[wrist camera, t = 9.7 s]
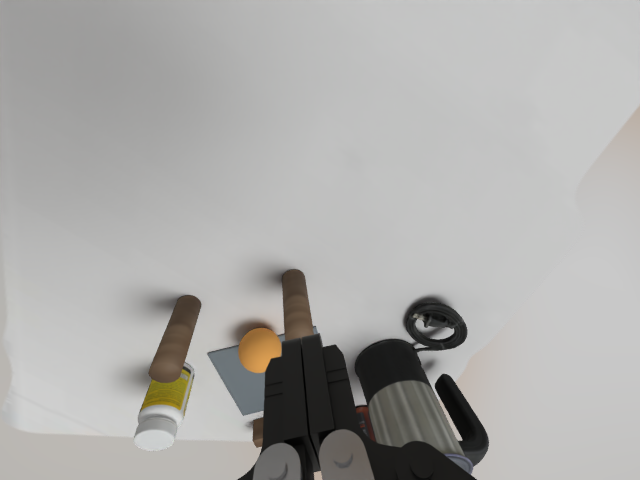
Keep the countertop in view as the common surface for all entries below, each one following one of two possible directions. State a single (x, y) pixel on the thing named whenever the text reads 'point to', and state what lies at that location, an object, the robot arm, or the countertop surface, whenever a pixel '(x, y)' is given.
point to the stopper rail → (258, 432)
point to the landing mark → (242, 378)
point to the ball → (259, 349)
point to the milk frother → (420, 392)
